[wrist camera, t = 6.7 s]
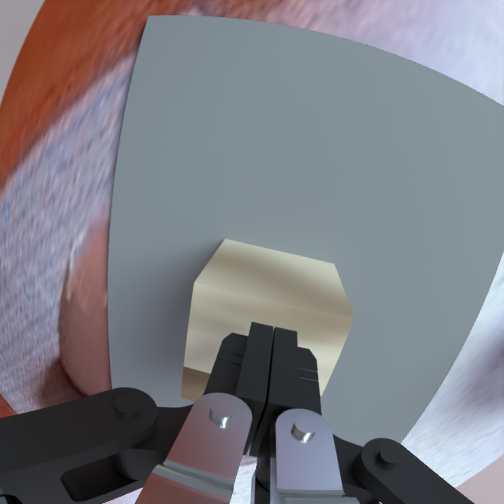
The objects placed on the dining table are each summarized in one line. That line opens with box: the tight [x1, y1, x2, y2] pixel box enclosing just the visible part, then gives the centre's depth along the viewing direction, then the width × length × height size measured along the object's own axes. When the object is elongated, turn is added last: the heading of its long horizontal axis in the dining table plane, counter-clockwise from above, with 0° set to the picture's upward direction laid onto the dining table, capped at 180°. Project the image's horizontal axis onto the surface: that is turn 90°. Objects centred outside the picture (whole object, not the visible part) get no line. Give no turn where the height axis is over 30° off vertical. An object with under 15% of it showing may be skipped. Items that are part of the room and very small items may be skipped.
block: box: [180, 239, 354, 402], centre depth 15 cm, size 6×6×6 cm
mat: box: [108, 15, 504, 459], centre depth 18 cm, size 30×24×1 cm
